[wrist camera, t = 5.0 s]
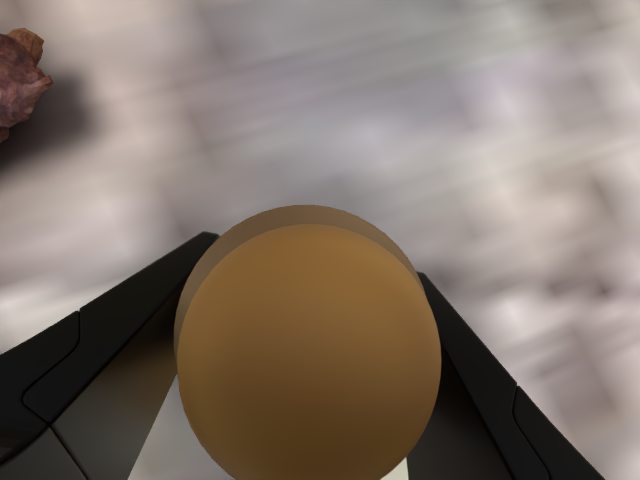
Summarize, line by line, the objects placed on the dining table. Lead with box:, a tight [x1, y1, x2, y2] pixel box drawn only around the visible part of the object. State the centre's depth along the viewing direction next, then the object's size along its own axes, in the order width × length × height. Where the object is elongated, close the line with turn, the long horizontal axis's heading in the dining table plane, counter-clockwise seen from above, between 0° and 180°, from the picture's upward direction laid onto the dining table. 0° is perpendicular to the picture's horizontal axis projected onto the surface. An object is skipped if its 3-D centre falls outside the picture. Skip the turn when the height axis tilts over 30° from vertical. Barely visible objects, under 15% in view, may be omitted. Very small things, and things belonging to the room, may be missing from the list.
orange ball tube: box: [174, 205, 441, 480], centre depth 9 cm, size 5×5×12 cm
